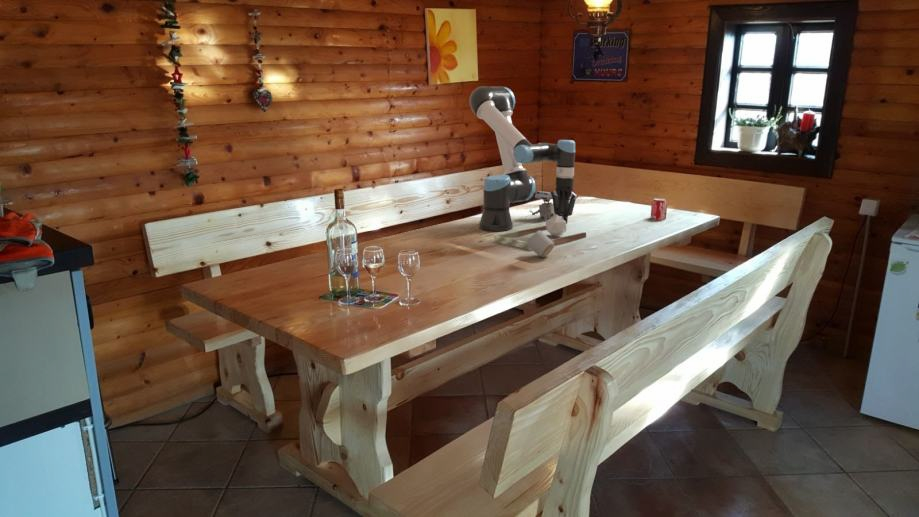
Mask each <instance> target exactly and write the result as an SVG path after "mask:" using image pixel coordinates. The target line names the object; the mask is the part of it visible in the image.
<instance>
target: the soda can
mask: <svg viewBox="0 0 919 517" xmlns="http://www.w3.org/2000/svg"><path fill="white" fill-rule="evenodd" d="M650 207H651V208H650V209H651V210H650V219H651V220H654V221H665V220H667V211H668V202H667V199H666V198H659V197H656V198H655V197H654V198H653V200H652V202H651V206H650Z"/></svg>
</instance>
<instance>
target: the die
mask: <svg viewBox="0 0 919 517" xmlns="http://www.w3.org/2000/svg"><path fill="white" fill-rule="evenodd" d="M545 223H546V224H545V226H546V229H547V230H546V231H547V232H548V233H549V234H551V235H552V236H553V237H554V238H558V237H559V236H561V235H562V234H564V233H566V232H567V224H566V221H565V220H564V219H562V218H561V217H560V216H558V215H557V214H556V215H555V216H553V217H552V218H547V221H545Z"/></svg>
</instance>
